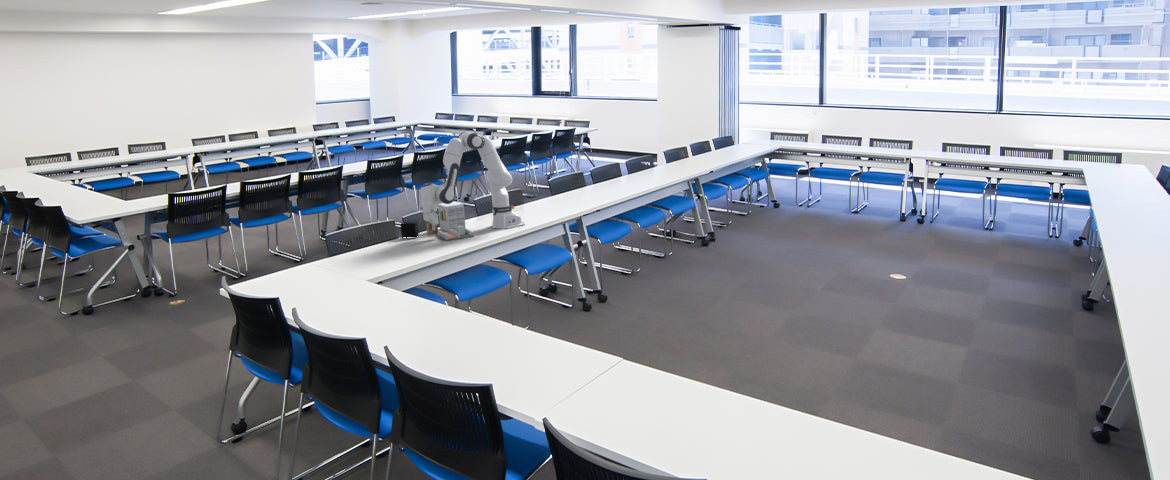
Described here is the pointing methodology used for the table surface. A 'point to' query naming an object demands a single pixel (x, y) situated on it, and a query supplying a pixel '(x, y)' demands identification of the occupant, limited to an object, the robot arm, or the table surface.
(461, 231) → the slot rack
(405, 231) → the electronic device
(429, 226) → the walnut plug
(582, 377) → the table surface
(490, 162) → the robot arm
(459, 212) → the supplement box
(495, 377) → the table surface
